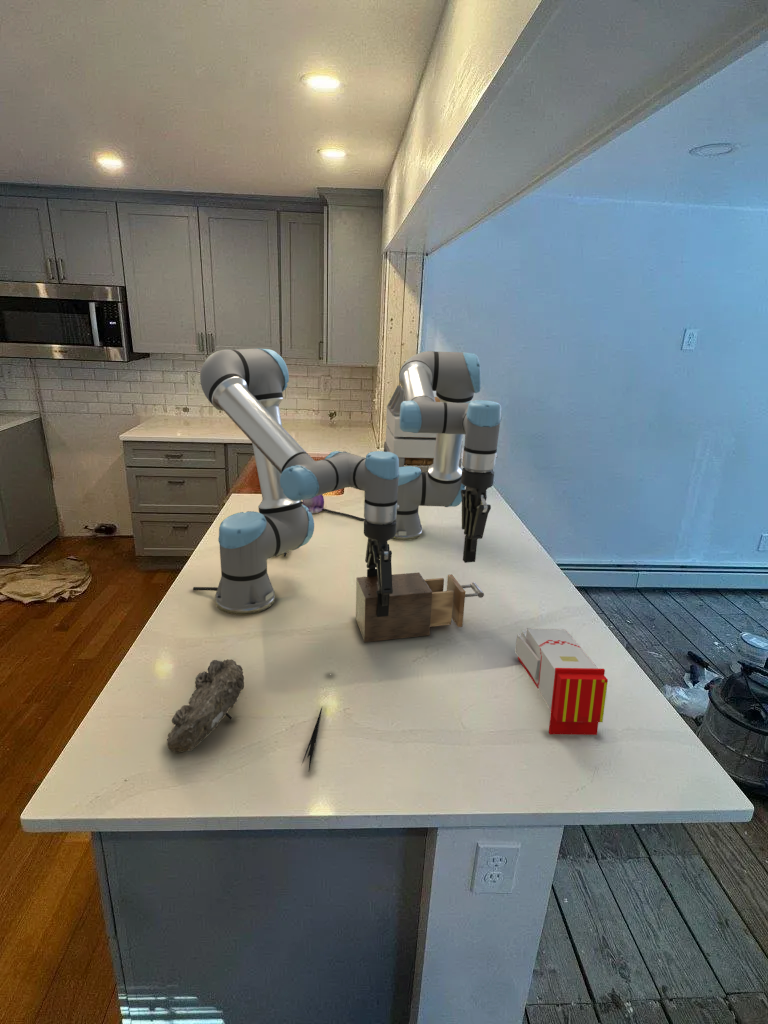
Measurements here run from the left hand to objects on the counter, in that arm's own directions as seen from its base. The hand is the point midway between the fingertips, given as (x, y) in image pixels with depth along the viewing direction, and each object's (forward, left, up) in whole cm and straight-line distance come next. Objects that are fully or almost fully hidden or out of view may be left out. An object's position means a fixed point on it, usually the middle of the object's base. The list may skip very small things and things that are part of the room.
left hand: (377, 603), depth 138 cm
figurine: (-47, +74, -7) cm, 88 cm away
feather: (-1, -35, -7) cm, 36 cm away
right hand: (+20, +11, +10) cm, 25 cm away
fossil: (-21, -41, -7) cm, 46 cm away
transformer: (-20, +143, -7) cm, 144 cm away
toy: (+42, -11, -7) cm, 44 cm away
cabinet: (+4, +2, -7) cm, 8 cm away
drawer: (+14, +8, -6) cm, 17 cm away
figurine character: (-42, +35, -7) cm, 55 cm away
